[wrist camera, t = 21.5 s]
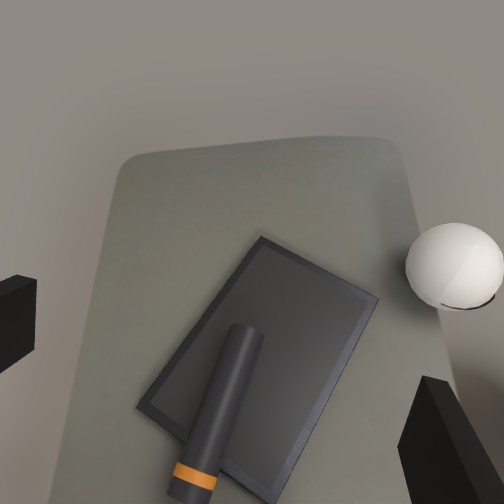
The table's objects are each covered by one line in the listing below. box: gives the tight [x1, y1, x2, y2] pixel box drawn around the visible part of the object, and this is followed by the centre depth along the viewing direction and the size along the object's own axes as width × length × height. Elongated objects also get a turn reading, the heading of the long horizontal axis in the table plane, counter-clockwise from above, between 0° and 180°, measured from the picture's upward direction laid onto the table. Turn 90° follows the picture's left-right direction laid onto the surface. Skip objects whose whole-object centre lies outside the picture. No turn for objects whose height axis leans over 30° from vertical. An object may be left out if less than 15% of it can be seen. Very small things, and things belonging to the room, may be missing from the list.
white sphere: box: [405, 223, 504, 312], centre depth 33 cm, size 10×7×7 cm
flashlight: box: [166, 323, 264, 504], centre depth 29 cm, size 3×3×12 cm
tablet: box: [136, 236, 379, 504], centre depth 33 cm, size 12×18×1 cm, turn 148°
